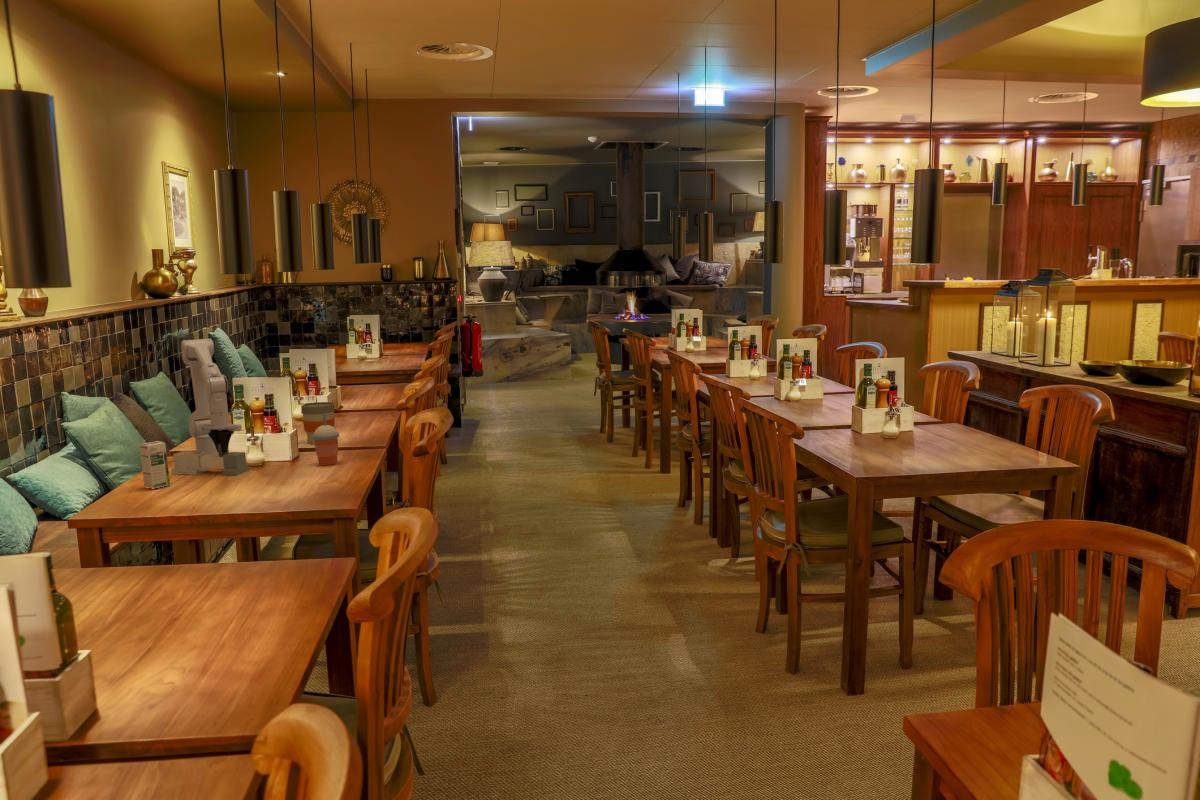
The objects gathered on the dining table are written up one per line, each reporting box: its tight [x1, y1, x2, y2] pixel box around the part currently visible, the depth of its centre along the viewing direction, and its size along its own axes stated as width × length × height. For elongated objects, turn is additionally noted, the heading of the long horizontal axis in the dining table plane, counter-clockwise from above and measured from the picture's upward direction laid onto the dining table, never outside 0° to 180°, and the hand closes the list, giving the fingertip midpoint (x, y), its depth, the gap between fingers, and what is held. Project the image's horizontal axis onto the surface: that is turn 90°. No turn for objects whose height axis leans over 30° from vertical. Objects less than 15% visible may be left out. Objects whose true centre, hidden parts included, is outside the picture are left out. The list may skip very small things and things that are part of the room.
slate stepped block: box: [221, 451, 250, 477], centre depth 297 cm, size 5×8×7 cm, turn 170°
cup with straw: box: [312, 413, 340, 467], centre depth 307 cm, size 9×9×18 cm
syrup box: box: [139, 440, 171, 489], centre depth 280 cm, size 6×6×14 cm
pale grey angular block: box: [199, 443, 228, 468], centre depth 298 cm, size 14×4×8 cm, turn 80°
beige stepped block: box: [171, 450, 212, 476], centre depth 300 cm, size 9×8×7 cm
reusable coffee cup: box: [300, 401, 336, 445], centre depth 344 cm, size 13×13×15 cm
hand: (222, 451), depth 298 cm, fingers closed on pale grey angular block
